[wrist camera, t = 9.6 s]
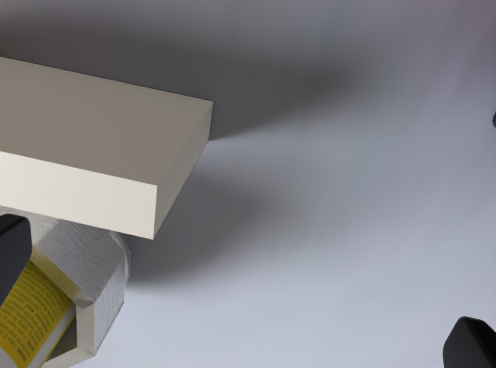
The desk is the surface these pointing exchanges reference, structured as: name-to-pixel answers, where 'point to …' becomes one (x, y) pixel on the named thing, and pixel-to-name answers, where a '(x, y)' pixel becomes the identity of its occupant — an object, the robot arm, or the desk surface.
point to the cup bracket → (80, 279)
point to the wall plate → (95, 147)
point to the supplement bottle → (33, 319)
